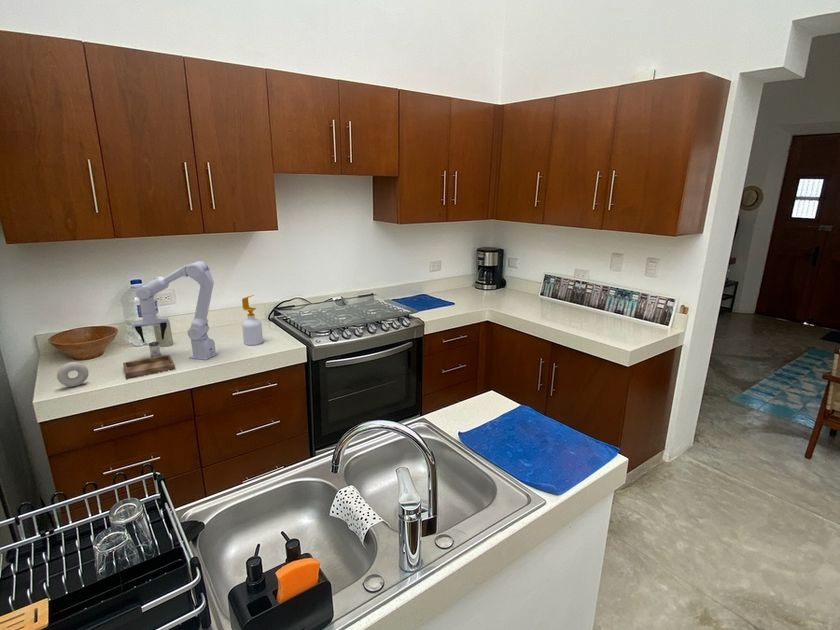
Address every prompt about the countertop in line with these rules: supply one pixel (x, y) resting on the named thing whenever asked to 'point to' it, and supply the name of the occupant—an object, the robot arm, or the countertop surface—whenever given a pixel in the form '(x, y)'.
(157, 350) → the steel shaker
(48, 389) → the countertop surface
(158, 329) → the skincare box
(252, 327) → the soap bottle
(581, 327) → the countertop surface
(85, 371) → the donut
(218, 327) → the countertop surface
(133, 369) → the walnut tray
